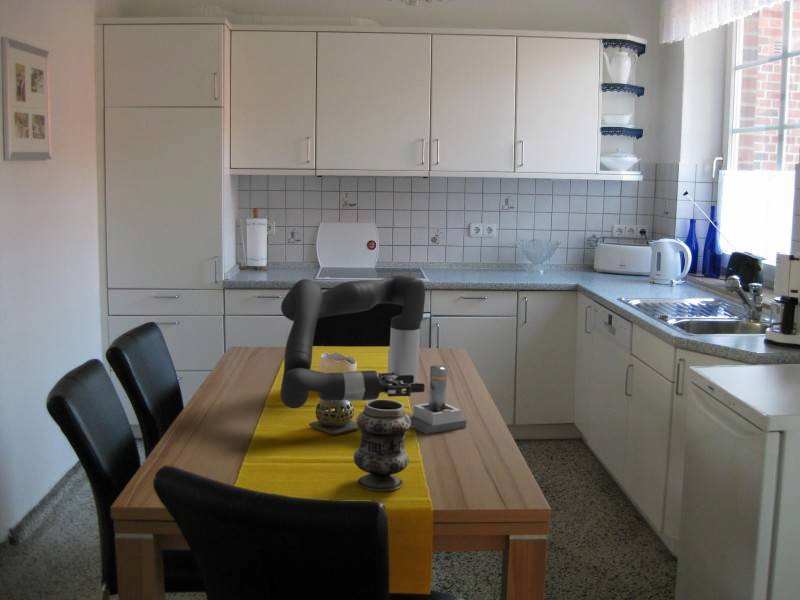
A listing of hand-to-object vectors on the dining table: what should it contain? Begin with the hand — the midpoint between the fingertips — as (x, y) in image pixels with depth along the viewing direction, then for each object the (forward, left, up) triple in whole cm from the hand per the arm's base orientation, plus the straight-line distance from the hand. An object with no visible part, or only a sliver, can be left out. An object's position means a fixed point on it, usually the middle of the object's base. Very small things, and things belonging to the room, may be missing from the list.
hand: (418, 383), depth 231 cm
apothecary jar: (+29, -30, -12) cm, 43 cm away
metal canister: (+1, +5, -10) cm, 11 cm away
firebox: (0, +5, -12) cm, 13 cm away
